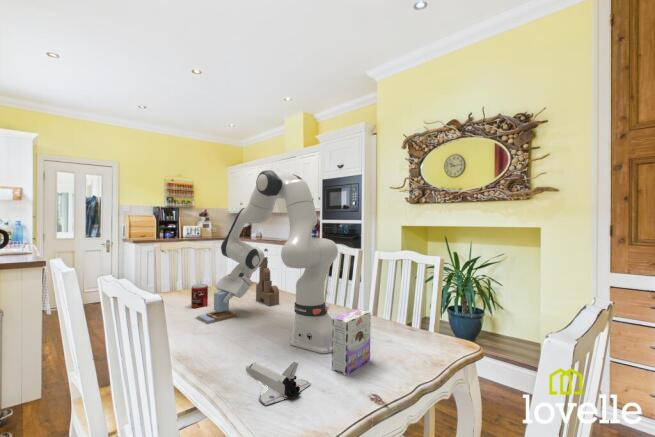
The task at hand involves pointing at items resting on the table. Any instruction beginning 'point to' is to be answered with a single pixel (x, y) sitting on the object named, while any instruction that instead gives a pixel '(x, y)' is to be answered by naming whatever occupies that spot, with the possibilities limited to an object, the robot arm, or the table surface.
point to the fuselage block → (220, 301)
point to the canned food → (199, 295)
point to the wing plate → (206, 318)
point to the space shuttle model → (277, 382)
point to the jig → (220, 316)
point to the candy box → (350, 341)
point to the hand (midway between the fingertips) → (220, 300)
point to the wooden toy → (266, 286)
